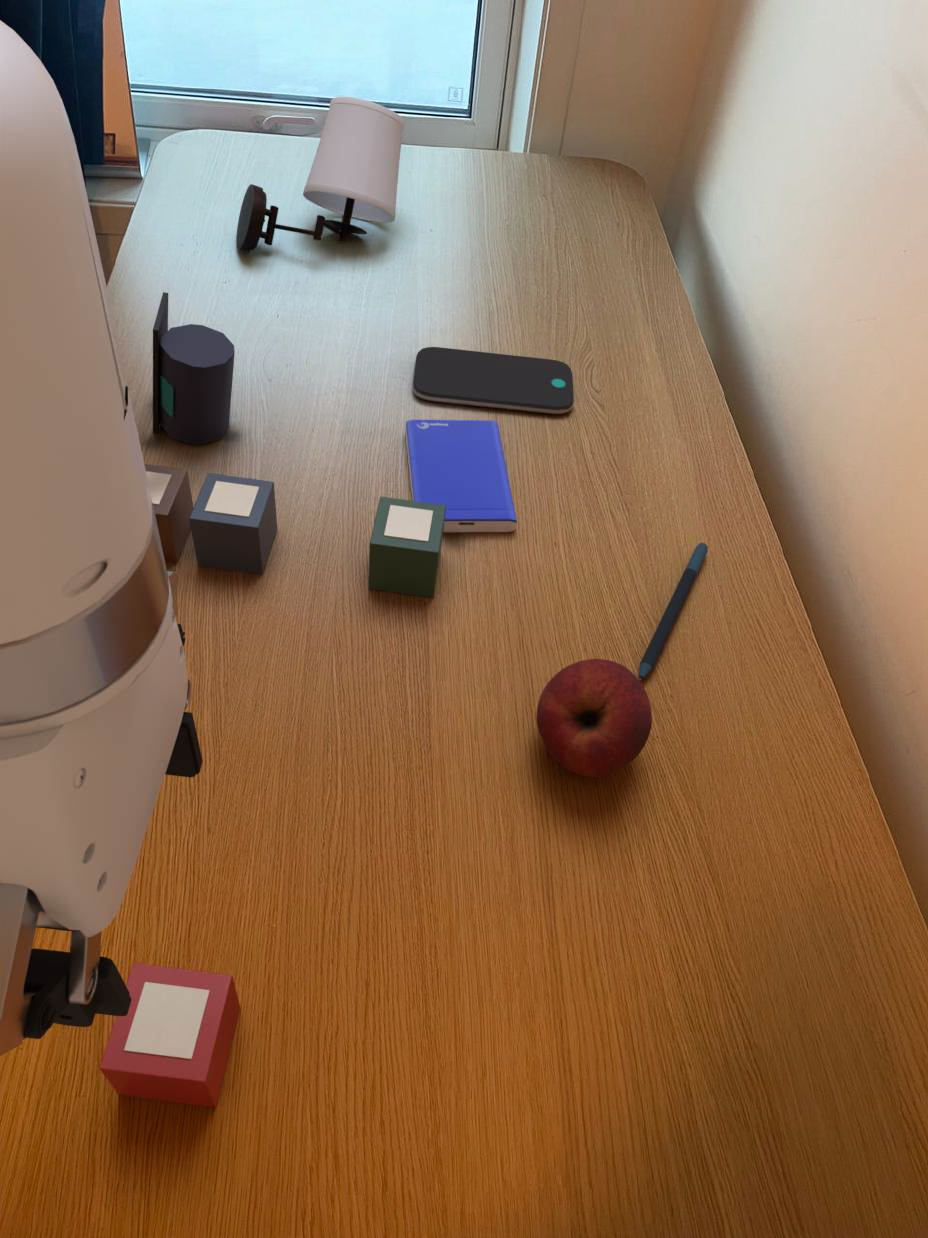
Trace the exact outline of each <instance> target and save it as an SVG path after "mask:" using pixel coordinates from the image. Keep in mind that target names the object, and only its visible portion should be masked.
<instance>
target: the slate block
mask: <svg viewBox="0 0 928 1238" xmlns="http://www.w3.org/2000/svg"><path fill="white" fill-rule="evenodd" d="M193 507H194V508H193V510H192V513H191V515H190V518H189V520H190V526H191V529H190V532H191V535H192V542H193V548H194V553H195V559H196V565H197V567H205V568H212V569H219V570H221V569H222V570H227V571H234V572H241V573H250V574H256V575H263V574H264V572H265V569H266V566H267V563H268V559H269V556H270V553H271V551H272V547H273V544H274V540H275V538H276V535H277V531H278V519H277V505H276V494H275V483H274V481H270V480H263V479H256V478H249V477H242V476H233V475H227V474H219V473H214V472H213V473H212V472H208V473H207V474H206V477H205V479H204V481H203V484H202V486H201V489H200V491H199V493H198V496H197V499H196V501H195V503H194V505H193Z"/></svg>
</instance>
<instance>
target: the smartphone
mask: <svg viewBox="0 0 928 1238" xmlns="http://www.w3.org/2000/svg"><path fill="white" fill-rule="evenodd" d="M414 363H415V364H414V371H413V380H412V390H413V391H412V392H413V393H414V395H415V396H416V397H418V398H419V399H421V400H424V401H427V402H431V403H432V402H434V403H443V404H452V405H460V406H461V405H462V406H471V407H481V408H489V409H490V408H491V409H499V410H509V411H516V412H517V411H519V412H528V413H538V414H547V415H563V414H568V413H569V412H570V411H571V410H572V409H573V405H574V400H575V399H574V398H575V397H574V380H573V379H574V378H573V371H572V369H571V368H570V366H569V365H568V364H567V363H565V362H563V361H560V360H556V359H551V358H541V357H532V356H524V355H523V356H522V355H513V354H505V353H504V354H503V353H495V352H486V351H476V350H469V349H459V348H449V347H440V346H427V347H424V348H422V349H421V348H420V350H419V351H417V353H416V357H415V362H414Z"/></svg>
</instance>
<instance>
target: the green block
mask: <svg viewBox="0 0 928 1238" xmlns="http://www.w3.org/2000/svg"><path fill="white" fill-rule="evenodd" d="M445 512H446V506H445V505H439V504H431V503H424V502H417V501H412V500H408V499H401V498H394V497H387V496H380V497H379V501H378V505H377V509H376V514H375V518H374V522H373V527H372V531H371V536H370V540H369V554H368V555H369V558H368V590H372V591H380V592H386V593H387V592H388V593H394V594H403V595H409V596H410V595H411V596H417V597H425V598H431V599H434V598H435V593H436V587H437V580H438V575H439V567H440V561H441V560H440V559H441V555H442V554H441V553H442V546H443V537H444V532H443V529H444V521H445Z"/></svg>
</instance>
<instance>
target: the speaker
mask: <svg viewBox="0 0 928 1238" xmlns="http://www.w3.org/2000/svg"><path fill="white" fill-rule="evenodd" d="M235 351H236V349H235V345H234V344H233V343H232V341H231V340H230V339H229V337H227V336H226V334H225V333H224V332H222V331H219V330H216V329H213V328H211V327H209V326H206V325H203V324H194V323H189V324H184V325H179V326H175V327H173V326H172V327H171V328H169V292H166V291H163V292H162V295H161V299H160V302H159V306H158V309H157V313H156V317H155V320H154V324H153V327H152V434H154V435H158V434H159V430H160V425H161V426H162V428H163V429H164V430H165V432H166V433H167V434H168V436H169V437H171V438H174V439H176V440H179V441H181V442H184V443H187V444H189V445H204V444H208V443H212V442H215V441H219V440H221V439H222V438H223V436H224V435H225V434H226V433H227V431H228V430H229V428H230V416H231V406H232V405H231V404H232V393H233V392H232V391H233V379H234V367H235V353H236V352H235Z"/></svg>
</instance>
